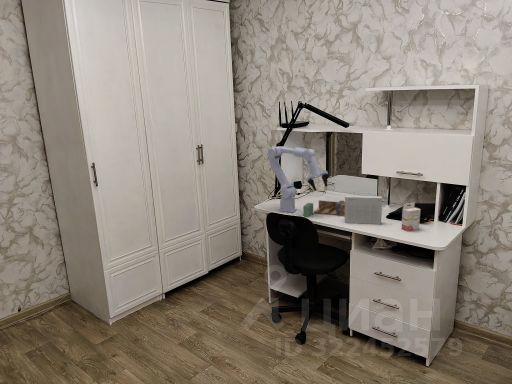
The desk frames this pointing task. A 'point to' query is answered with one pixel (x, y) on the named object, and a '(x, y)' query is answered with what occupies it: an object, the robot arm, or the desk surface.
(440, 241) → the desk surface
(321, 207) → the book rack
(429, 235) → the desk surface
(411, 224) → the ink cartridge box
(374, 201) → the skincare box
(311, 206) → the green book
